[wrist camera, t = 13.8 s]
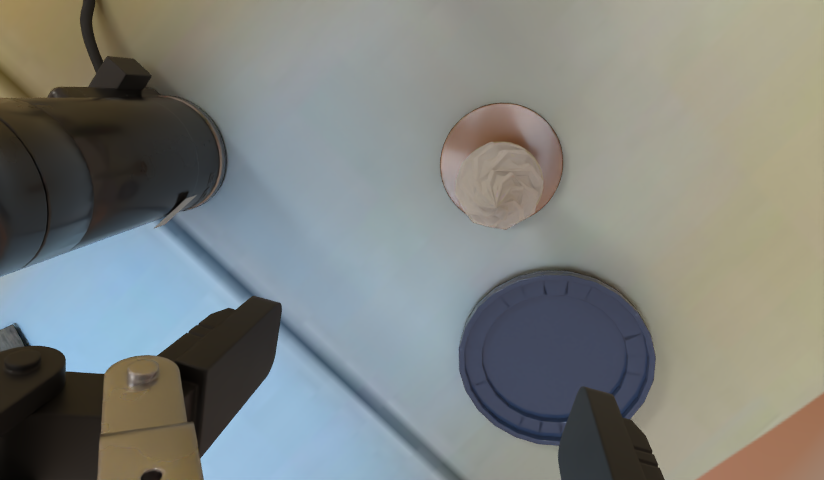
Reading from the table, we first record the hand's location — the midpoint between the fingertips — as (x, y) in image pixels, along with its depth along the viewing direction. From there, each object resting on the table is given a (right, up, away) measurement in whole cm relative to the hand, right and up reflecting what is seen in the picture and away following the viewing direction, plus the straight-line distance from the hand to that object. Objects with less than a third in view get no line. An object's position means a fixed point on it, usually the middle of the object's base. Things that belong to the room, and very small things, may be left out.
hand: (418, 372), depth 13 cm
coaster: (+6, +9, +25) cm, 27 cm away
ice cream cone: (+6, +9, +25) cm, 27 cm away
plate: (+11, -6, +28) cm, 31 cm away
